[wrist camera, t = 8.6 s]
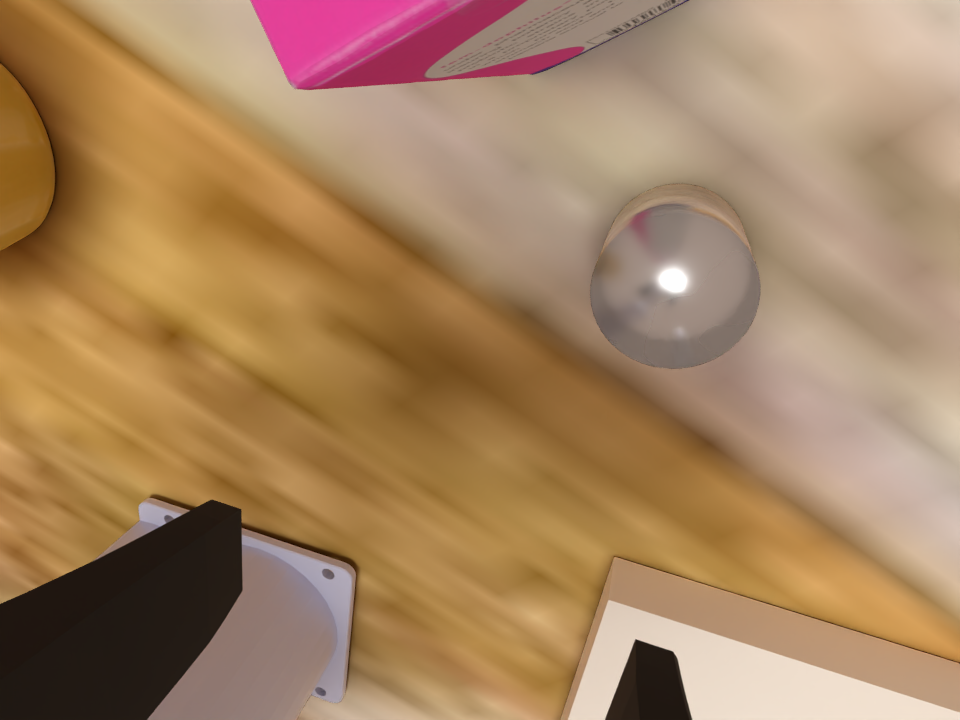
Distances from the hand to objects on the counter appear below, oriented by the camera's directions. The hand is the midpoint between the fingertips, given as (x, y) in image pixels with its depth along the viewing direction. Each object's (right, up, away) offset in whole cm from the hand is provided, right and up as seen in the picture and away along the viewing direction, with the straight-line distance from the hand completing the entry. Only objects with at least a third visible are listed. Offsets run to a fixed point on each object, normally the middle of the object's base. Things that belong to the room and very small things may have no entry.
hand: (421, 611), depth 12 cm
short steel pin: (+6, +7, +6) cm, 11 cm away
